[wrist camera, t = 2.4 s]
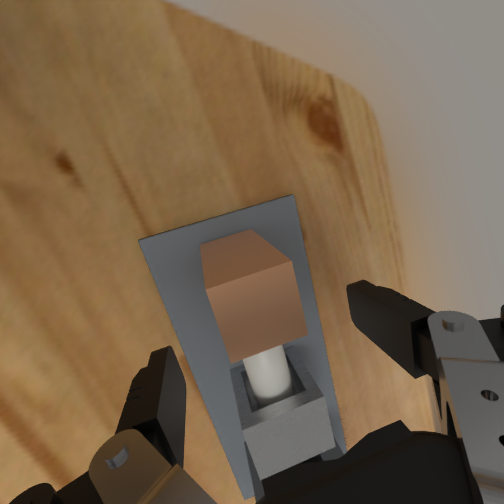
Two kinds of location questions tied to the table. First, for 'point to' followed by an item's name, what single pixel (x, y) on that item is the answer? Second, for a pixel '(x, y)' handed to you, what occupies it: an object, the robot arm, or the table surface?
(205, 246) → the tan block with rod
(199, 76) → the table surface
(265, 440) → the sleeve
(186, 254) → the slate mat
